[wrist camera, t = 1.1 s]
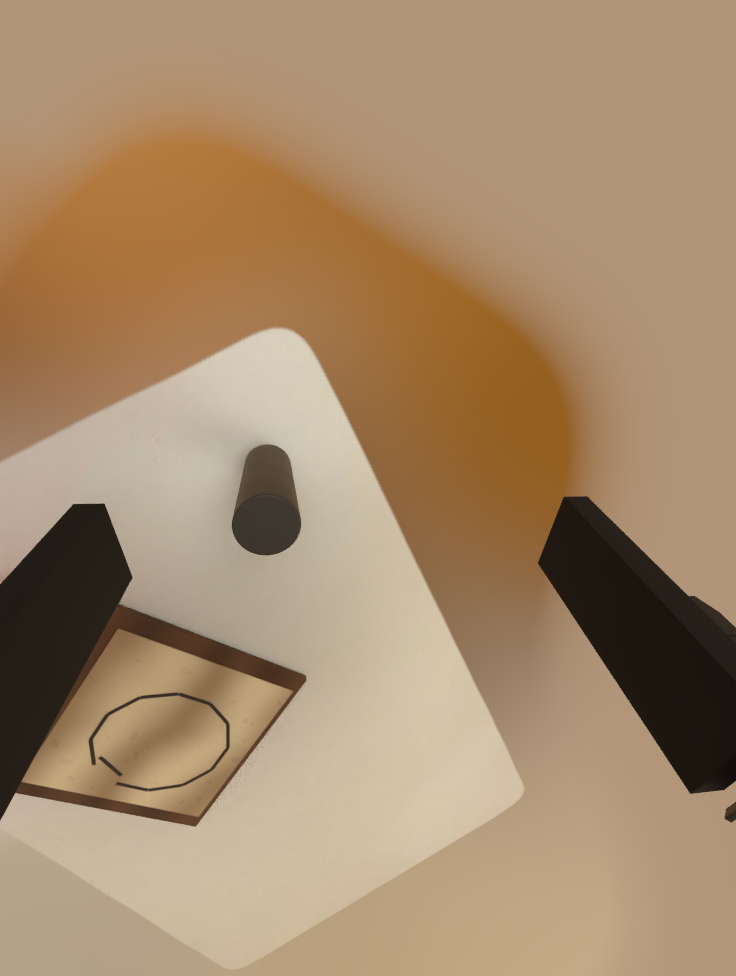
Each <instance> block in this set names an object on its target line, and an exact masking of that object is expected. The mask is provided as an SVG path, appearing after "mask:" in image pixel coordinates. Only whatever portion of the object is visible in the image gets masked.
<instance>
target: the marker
mask: <svg viewBox="0 0 736 976" xmlns="http://www.w3.org/2000/svg"><path fill="white" fill-rule="evenodd" d="M300 529H301V518H300V513H299V507H298V502H297V496H296V491H295V485H294V480H293V474H292V469H291V463H290V459H289V457H288V455H287V454H286V453H285V452H284V451H283V450H282V449H281V448H279V447H277V446H274V445H261V446H258V447H256V448H254V449H253V450H252V451H251V452H250V453H249V454H248V456H247V458H246V461H245V466H244V470H243V475H242V479H241V484H240V488H239V493H238V497H237V502H236V506H235V511H234V515H233V520H232V530H233V534H234V537H235V538H236V540H237V542H238V543H239V544H240V545H241V546H242V547H243V548H245V549H246V550H248V551H249V552H252V553H254V554H258V555H273V554H277V553H280V552H282V551H284V550H286V549H287V548H289V547H290V546H291V545H292V544H293V543H294V542H295V541H296V539H297V537H298V535H299V533H300Z"/></svg>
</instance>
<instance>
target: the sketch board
mask: <svg viewBox="0 0 736 976" xmlns="http://www.w3.org/2000/svg"><path fill="white" fill-rule="evenodd" d="M305 682H306V676H305V675H302V674H299V673H297V672H294V671H292V670H289V669H286V668H284V667H281V666H278V665H276V664H273V663H271V662H268V661H265V660H263V659H260V658H257V657H255V656H252V655H250V654H247V653H244V652H242V651H239V650H236V649H234V648H231V647H229V646H226V645H223V644H221V643H218V642H215V641H213V640H210V639H208V638H205V637H202V636H200V635H197V634H194V633H192V632H189V631H187V630H184V629H181V628H179V627H176V626H173V625H171V624H168V623H166V622H163V621H160V620H158V619H155V618H152V617H150V616H147V615H145V614H142V613H139V612H137V611H134V610H131V609H129V608H126V607H124V606H121V605H117V607H116V609H115V611H114V613H113V614H112V616H111V618H110V620H109V622H108V624H107V625H106V627H105V629H104V631H103V633H102V635H101V636H100V638H99V640H98V642H97V644H96V646H95V647H94V649H93V651H92V653H91V655H90V657H89V658H88V660H87V662H86V664H85V666H84V668H83V669H82V671H81V673H80V675H79V677H78V679H77V680H76V682H75V684H74V686H73V688H72V690H71V691H70V693H69V695H68V697H67V699H66V701H65V703H64V704H63V706H62V708H61V710H60V712H59V714H58V715H57V717H56V719H55V721H54V723H53V725H52V726H51V728H50V730H49V732H48V734H47V736H46V737H45V739H44V741H43V743H42V745H41V747H40V748H39V750H38V752H37V754H36V756H35V758H34V759H33V761H32V763H31V765H30V767H29V769H28V770H27V772H26V774H25V776H24V778H23V780H22V781H21V783H20V785H19V787H18V789H17V791H16V792H15V793H19V794H24V795H29V796H35V797H40V798H46V799H51V800H56V801H62V802H67V803H72V804H78V805H83V806H88V807H94V808H99V809H104V810H110V811H115V812H120V813H126V814H131V815H136V816H142V817H147V818H152V819H158V820H163V821H168V822H174V823H179V824H185V825H190V826H196V825H197V824H198V823H199V822H200V820H201V819H202V818H203V816H204V815H205V814H206V812H207V811H208V810H209V808H210V807H211V806H212V804H213V803H214V802H215V800H216V799H217V798H218V796H219V795H220V794H221V792H222V791H223V790H224V789H225V787H226V786H227V785H228V783H229V782H230V781H231V779H232V778H233V777H234V775H235V774H236V773H237V771H238V770H239V769H240V767H241V766H242V765H243V763H244V762H245V761H246V759H247V758H248V757H249V755H250V754H251V753H252V752H253V750H254V749H255V748H256V746H257V745H258V744H259V742H260V741H261V740H262V738H263V737H264V736H265V734H266V733H267V732H268V730H269V729H270V728H271V726H272V725H273V724H274V722H275V721H276V720H277V719H278V717H279V716H280V715H281V713H282V712H283V711H284V709H285V708H286V707H287V705H288V704H289V703H290V701H291V700H292V699H293V697H294V696H295V695H296V693H297V692H298V691H299V689H300V688H301V687H302V685H303V684H304V683H305Z"/></svg>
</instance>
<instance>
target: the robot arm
mask: <svg viewBox="0 0 736 976" xmlns="http://www.w3.org/2000/svg"><path fill="white" fill-rule="evenodd" d="M538 564H539V566H540V567H541V569H542V570H543V572H544V573H545V575H546V576H547V577H548V579H549V581H550V582H551V584H552V585H553V587H554V588H555V590H556V591H557V593H558V594H559V596H560V597H561V599H562V600H563V602H564V603H565V605H566V606H567V608H568V609H569V611H570V612H571V614H572V615H573V617H574V618H575V620H576V621H577V623H578V624H579V626H580V628H581V629H582V631H583V632H584V634H585V635H586V636H587V638H588V640H589V641H590V643H591V644H592V646H593V647H594V649H595V650H596V652H597V653H598V655H599V656H600V658H601V659H602V661H603V662H604V664H605V665H606V667H607V668H608V670H609V671H610V673H611V674H612V676H613V677H614V679H615V680H616V682H617V683H618V685H619V687H620V688H621V690H622V691H623V693H624V694H625V696H626V697H627V699H628V700H629V701H630V703H631V705H632V706H633V708H634V709H635V711H636V712H637V714H638V715H639V717H640V718H641V720H642V721H643V723H644V724H645V726H646V727H647V729H648V730H649V732H650V733H651V735H652V736H653V738H654V739H655V741H656V743H657V744H658V746H659V747H660V748H661V750H662V751H663V753H664V755H665V756H666V758H667V759H668V761H669V762H670V764H671V765H672V767H673V768H674V770H675V771H676V773H677V774H678V776H679V777H680V779H681V780H682V782H683V783H684V785H685V786H686V788H687V789H688V791H689V792H690V793H691V794H692V793H701V792H709V791H719V790H725V789H726V788H727V787H728V786H730V785H731V784H732V783H734V782H735V781H736V628H735V627H734V626H733V625H732V624H731V623H730V622H729V621H728V620H727V619H726V618H725V617H724V616H723V615H722V614H721V613H720V612H718V611H716V610H715V609H713V608H712V607H710V606H709V605H707V604H706V603H704V602H703V601H701V600H700V599H698V598H697V597H695V596H688V595H687V594H686V593H685V592H684V591H683V590H681V588H680V587H679V586H678V585H676V584H675V583H674V582H673V581H672V580H671V579H670V578H669V577H668V576H667V575H666V574H665V573H664V572H663V571H662V570H661V569H660V568H659V567H658V566H657V565H656V564H655V563H654V562H653V561H652V560H651V559H650V558H649V557H648V556H647V555H646V554H645V553H644V552H643V551H642V550H641V549H640V548H639V547H638V546H637V545H636V544H635V543H634V542H633V541H632V540H631V539H630V538H629V537H628V536H627V535H625V533H624V532H623V531H621V529H620V528H619V527H618V526H616V524H614V523H613V521H612V520H610V519H609V518H608V517H607V516H606V515H605V514H604V513H603V512H602V511H601V510H600V509H599V508H598V507H597V506H596V505H595V504H594V503H593V502H592V501H591V500H590V499H589V498H588V497H564V498H563V500H562V503H561V505H560V508H559V511H558V513H557V516H556V518H555V521H554V524H553V526H552V528H551V531H550V534H549V536H548V539H547V541H546V544H545V546H544V549H543V552H542V554H541V557H540V559H539V562H538ZM132 578H133V577H132V575H131V572H130V570H129V567H128V564H127V562H126V559H125V556H124V554H123V551H122V549H121V546H120V543H119V541H118V538H117V535H116V533H115V530H114V528H113V525H112V522H111V520H110V517H109V514H108V512H107V509H106V507H105V504H73V505H72V506H71V507H70V509H69V510H68V511H67V512H66V513H65V514H64V515H63V516H62V517H61V518H60V520H59V521H58V522H57V523H56V524H55V525H54V526H53V527H52V528H51V529H50V531H49V532H48V533H47V534H46V535H45V536H44V537H43V538H42V539H41V540H40V542H39V543H38V544H37V545H36V546H35V547H34V548H33V549H32V550H31V551H30V553H29V554H28V555H27V556H26V557H25V558H24V559H23V560H22V561H21V562H20V564H19V565H18V566H17V567H16V568H15V569H14V570H13V571H12V572H11V573H10V574H9V576H8V577H7V578H6V579H5V580H4V581H3V582H2V583H1V584H0V820H1V818H2V816H3V815H4V813H5V811H6V809H7V807H8V805H9V803H10V802H11V800H12V798H13V796H14V794H15V792H16V791H17V789H18V787H19V785H20V783H21V781H22V780H23V778H24V776H25V774H26V772H27V770H28V769H29V767H30V765H31V763H32V761H33V759H34V758H35V756H36V754H37V752H38V750H39V748H40V747H41V745H42V743H43V741H44V739H45V737H46V736H47V734H48V732H49V730H50V728H51V726H52V725H53V723H54V721H55V719H56V717H57V715H58V714H59V712H60V710H61V708H62V706H63V704H64V703H65V701H66V699H67V697H68V695H69V693H70V691H71V690H72V688H73V686H74V684H75V682H76V680H77V679H78V677H79V675H80V673H81V671H82V669H83V668H84V666H85V664H86V662H87V660H88V658H89V657H90V655H91V653H92V651H93V649H94V647H95V646H96V644H97V642H98V640H99V638H100V636H101V635H102V633H103V631H104V629H105V627H106V625H107V624H108V622H109V620H110V618H111V616H112V614H113V613H114V611H115V609H116V607H117V605H118V603H119V602H120V600H121V598H122V596H123V594H124V592H125V591H126V589H127V587H128V585H129V583H130V581H131V580H132ZM725 819H726V820H728V821H730V822H733V821H734V820H736V802H735V803H734V804H732V805H731V806H730V807H728V808H727V809H726V813H725Z"/></svg>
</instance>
